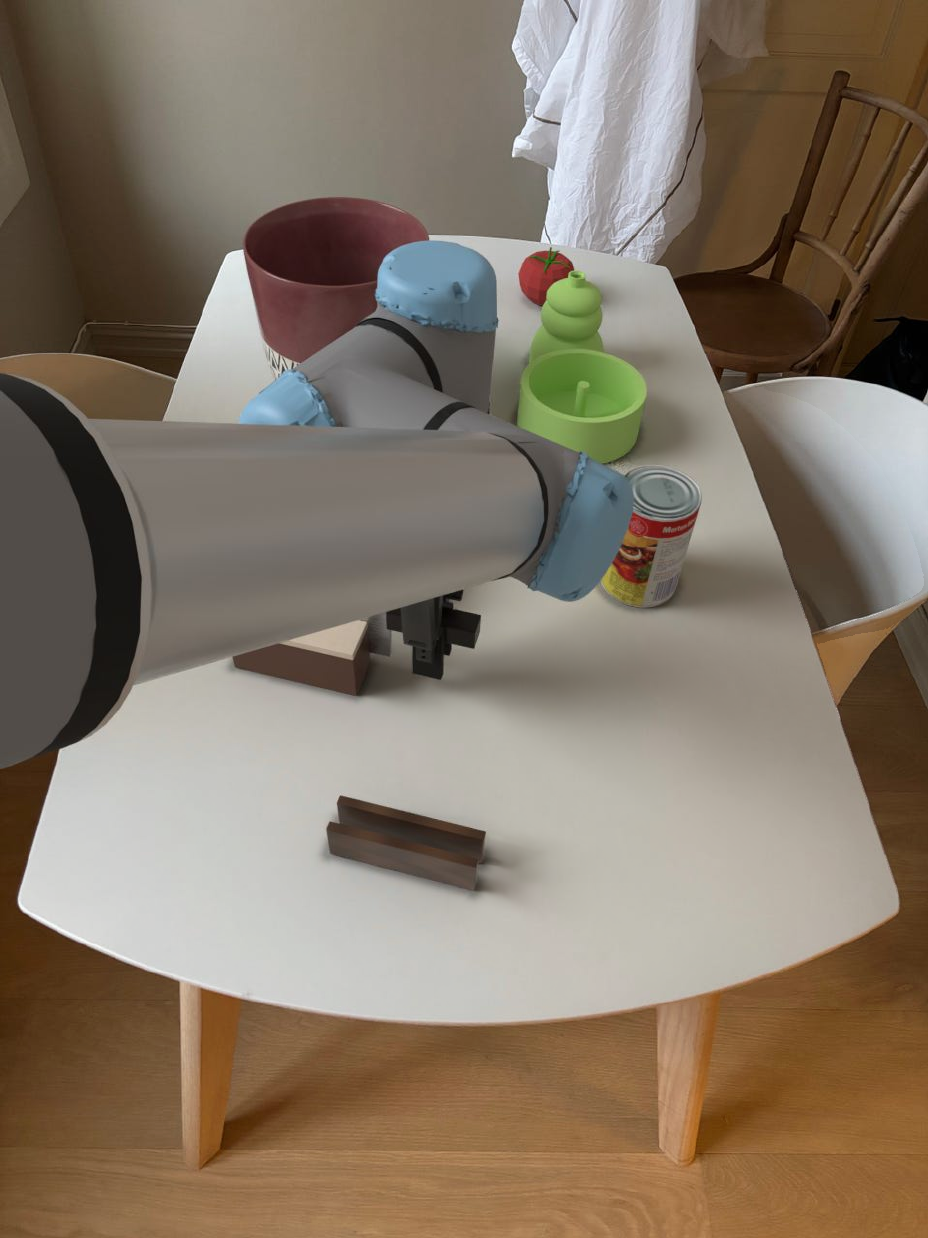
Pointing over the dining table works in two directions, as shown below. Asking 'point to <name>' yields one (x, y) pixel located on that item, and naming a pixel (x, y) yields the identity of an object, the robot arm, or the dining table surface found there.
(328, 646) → the cake slice
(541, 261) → the tomato
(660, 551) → the canned food
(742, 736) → the dining table surface
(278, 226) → the planter
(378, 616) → the cake knife
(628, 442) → the green piece
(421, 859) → the stand
